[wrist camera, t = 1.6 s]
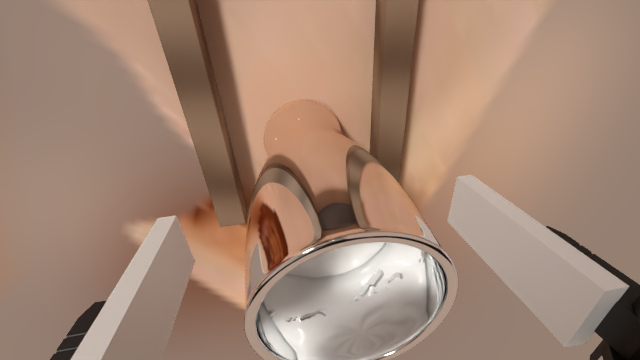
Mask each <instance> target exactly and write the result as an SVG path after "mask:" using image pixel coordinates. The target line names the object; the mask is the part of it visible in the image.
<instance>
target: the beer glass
mask: <svg viewBox="0 0 640 360" xmlns="http://www.w3.org/2000/svg"><path fill="white" fill-rule="evenodd" d="M264 147H265V150H266V153H267V156H268V157H267V159H266V161H265V164H264V166H263V168H262V170H261V172H260V174H259V177H258V180H257V183H256V185H255V188H254V191H253V194H252V198H251V203H250V209H249V214H248V221H247V232H246V245H245V314H244V331H245V335H246V338H247V340H248V342H249V344H250V346H251V347H252V348H253V350H254V351H255V352H256V353H257V354H258V355H259V356H260V357H261V358H263V359H264V360H389V359H392V358H394V357H396V356H398V355H400V354H401V353H404V352H405V351H407V350H409V349H410V348H412V347H413V346H415V345H417V344H418V343H420V342H421V341H422V340H423V339H425V338H426V337H427V336H428V335H430V334H431V333H432V332H433V331H434V330H435V329H436V328H437V327H438V326H439V325H440V324H441V322H442V321H443V320H444V319H445V317H446V316H447V314H448V313H449V311H450V310H451V308H452V306H453V304H454V301H455V299H456V295H457V290H458V276H457V271H456V268H455V265H454V263H453V261H452V260H451V258H450V257H449V256H448V254H447V253H446V252H445V251H444V250H443V249H442V247H441V246H440V244H439V243H438V241H437V240H436V238H435V237H434V235H433V233H432V232H431V230H430V228H429V227H428V225H427V224H426V222H425V220H424V219H423V217H422V216H421V214H420V213H419V211H418V210H417V208H416V207H415V205H414V204H413V202H412V201H411V199H410V198H409V196H408V195H407V194H406V192H405V191H404V190H403V188H402V187H401V186H400V184H399V183H398V182H397V180H396V179H395V178H394V177H393V176H392V175H391V174H390V172H389V171H388V170H387V169H386V168H385V167H384V166H383V165H382V164H381V163H380V162H379V161H378V160H377V159H376V158H375V157H374V156H372V155H371V154H370V153H369V152H367V151H366V150H365V149H364V148H362V147H361V146H360V145H358V144H356V143H355V142H353V141H352V140H350V139H349V138H347V137H345V136H344V135H342V130H341V126H340V124H339V121H338V120H337V118H336V116H335V115H334V114H333V113H332V111H331V110H329V109H328V108H327V107H325V106H324V105H322V104H320V103H317V102H314V101H309V100H298V101H293V102H290V103H287V104H285V105H283V106H282V107H280V108H279V109H278V110H276V111H275V112H274V113H273V115H272V116H271V117H270V119H269V120H268V122H267V124H266V127H265V131H264Z"/></svg>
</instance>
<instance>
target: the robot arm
mask: <svg viewBox="0 0 640 360" xmlns="http://www.w3.org/2000/svg"><path fill="white" fill-rule="evenodd" d="M447 222H448V223H449V224H450V225H451V226H452V227H453V228H454V229H455V230H456V231H457V232H458V234H460V236H461V237H462V238H463V239H464V240H465V241H466V242H467V243H468V244H469V245H470V246H471V248H472V249H473V250H474V251H475V252H476V253H477V254H478V255H479V256H480V257H481V258H482V259H483V260H484V261H485V262H486V264H487V265H488V266H489V267H490V268H491V269H492V270H493V271H494V272H495V273H496V274H497V275H498V276H499V277H500V278H501V280H503V282H504V283H505V284H506V285H507V286H508V287H509V288H510V289H511V290H512V291H513V292H514V293H515V295H516V296H517V297H518V298H519V299H520V300H521V301H522V302H523V303H524V304H525V305H526V306H527V307H528V308H529V310H530V311H532V313H533V314H534V315H535V316H536V317H537V318H538V319H539V320H540V321H541V322H542V323H543V325H544V326H546V328H547V329H548V330H549V331H550V332H551V333H552V334H553V335H554V336H555V337H556V338H557V339H558V341H559V342H560V343H561V344H562V345H563V346H564V347H565V348H566V347H570V346H574V345H579V344H583V343H586V342H587V341H588V339H589V338H590V337H591V336H592V334H593V333H594V332H596V333H597V334H598V335H599V336H600V337H601V338H603V341H602V342H601V343H600V344H599V346H598V347H597V348H596V349H595V351H594V352H593V353H592V354H591V355H590V360H598V359H599V358H600V356H603V360H640V285H639V284H637V283H636V282H635V281H633V280H632V279H630V278H629V277H627V276H626V275H624V274H623V273H621V272H620V271H619V270H617V269H616V268H614V267H612V266H611V265H610V264H608V263H607V262H605V261H604V260H602V259H601V258H599V257H598V256H596V255H595V254H592V253H591V252H590V251H589V250H588V249H586V248H585V247H583V246H580V245H579V243H577V242H576V241H575V240H573V239H572V238H570V237H568V236H567V235H566V234H564V233H562V232H559V231H557V230H555V229H553V228H551V227H548V226H546V227H545V226H543V225H542V224H541V223H539V222H538V221H536V220H535V219H534V218H532V217H531V216H529V215H528V214H526V213H525V212H524V211H522V210H521V209H519V208H518V207H517V206H515V205H514V204H512V203H511V202H509V201H508V200H507V199H505V198H504V197H502V196H501V195H499V194H498V193H496V192H495V191H494V190H492V189H491V188H490V187H488V186H487V185H485V184H484V183H482V182H481V181H480V180H478V179H477V178H475V177H474V176H473V175H466V176H459V177H457V180H456V184H455V189H454V193H453V198H452V202H451V207H450V211H449V216H448V220H447ZM194 262H195V260H194V258H193V255H192V253H191V250H190V248H189V245H188V243H187V240H186V238H185V236H184V233H183V231H182V228H181V226H180V223H179V221H178V218H177V216H170V217H162V218H158V219H157V220H156V222H155V223H154V225H153V227H152V228H151V230H150V232H149V233H148V235H147V236H146V238H145V240H144V241H143V243H142V245H141V246H140V248H139V249H138V251H137V253H136V254H135V256H134V258H133V259H132V261H131V262H130V264H129V266H128V267H127V269H126V271H125V272H124V274H123V276H122V277H121V279H120V280H119V282H118V284H117V285H116V287H115V288H114V290H113V292H112V293H111V295H110V296H109V298H108V300H107V301H101V302H96V303H94V304H93V305H92V306H91V307H90V308H89V309H87V310H86V311H85V312H84V313H83V314H82V315H81V316H80V317H79V318H78V319H77V321H76V322H75V324H74V325H73V327H72V328H71V330H70V331H69V333H68V334H67V338H66V339H64V340H63V341H62V343H61V344H60V346H59V347H58V349H57V353H56V354H54V355H53V356H52V358H51V359H50V360H162V357H163V354H164V351H165V348H166V345H167V342H168V340H169V336H170V334H171V331H172V328H173V325H174V321H175V319H176V316H177V313H178V310H179V307H180V304H181V301H182V298H183V295H184V292H185V289H186V286H187V283H188V280H189V277H190V274H191V271H192V268H193V265H194Z"/></svg>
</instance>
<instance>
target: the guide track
mask: <svg viewBox="0 0 640 360" xmlns="http://www.w3.org/2000/svg"><path fill="white" fill-rule="evenodd" d="M418 2H419V0H376V17H375V41H374V65H373V90H372V114H371V138H370V154H371V155H372V156H374V157H375V158H376V159H377V160H378V161H379V162H380V163H381V164H382V165H383V166H384V167H385V168H386V169H387V170H388V171H389V172H390V174H391V175H392V176H393V177H394V178H395V179H396V180H397V182H398V183H399V177H400V168H401V159H402V149H403V140H404V131H405V122H406V113H407V103H408V94H409V85H410V76H411V67H412V57H413V48H414V39H415V30H416V21H417V11H418ZM148 3H149V6H150V9H151V13H152V16H153V19H154V22H155V25H156V28H157V31H158V34H159V37H160V41H161V44H162V47H163V50H164V53H165V56H166V59H167V62H168V65H169V69H170V72H171V75H172V78H173V81H174V84H175V87H176V90H177V93H178V97H179V100H180V103H181V106H182V109H183V112H184V115H185V118H186V121H187V125H188V128H189V131H190V134H191V137H192V140H193V143H194V146H195V149H196V153H197V156H198V159H199V162H200V165H201V168H202V171H203V174H204V178H205V181H206V184H207V187H208V190H209V193H210V196H211V199H212V202H213V206H214V209H215V212H216V215H217V218H218V221H219V224H220V227H224V226H230V225H237V224H244V223H246V215H247V208H246V204H245V200H244V196H243V191H242V187H241V183H240V179H239V175H238V171H237V167H236V163H235V159H234V155H233V151H232V147H231V142H230V138H229V134H228V130H227V126H226V122H225V118H224V114H223V110H222V106H221V102H220V98H219V93H218V89H217V85H216V81H215V77H214V73H213V69H212V65H211V61H210V57H209V53H208V49H207V45H206V40H205V36H204V32H203V28H202V24H201V20H200V16H199V12H198V8H197V4H196V0H148Z"/></svg>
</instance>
